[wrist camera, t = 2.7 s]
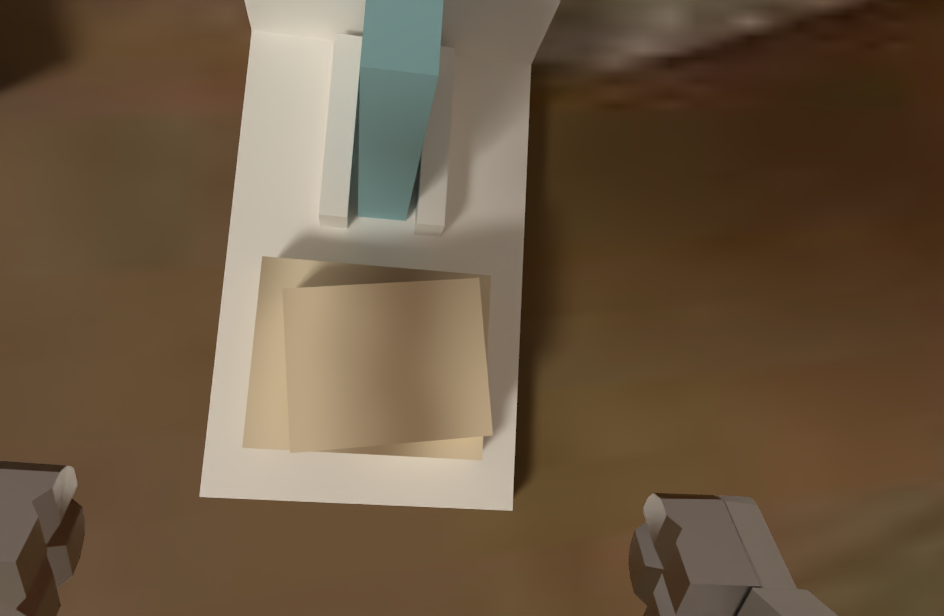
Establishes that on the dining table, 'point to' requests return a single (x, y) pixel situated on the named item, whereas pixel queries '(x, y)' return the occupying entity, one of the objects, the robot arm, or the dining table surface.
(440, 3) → the tall board
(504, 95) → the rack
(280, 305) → the plate
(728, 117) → the dining table surface
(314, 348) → the offcut top
